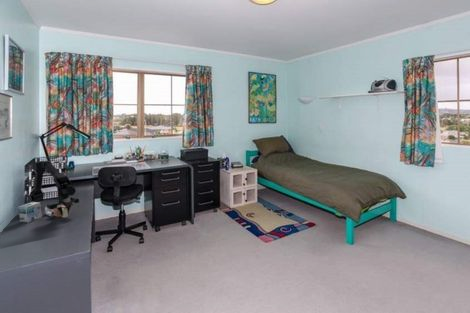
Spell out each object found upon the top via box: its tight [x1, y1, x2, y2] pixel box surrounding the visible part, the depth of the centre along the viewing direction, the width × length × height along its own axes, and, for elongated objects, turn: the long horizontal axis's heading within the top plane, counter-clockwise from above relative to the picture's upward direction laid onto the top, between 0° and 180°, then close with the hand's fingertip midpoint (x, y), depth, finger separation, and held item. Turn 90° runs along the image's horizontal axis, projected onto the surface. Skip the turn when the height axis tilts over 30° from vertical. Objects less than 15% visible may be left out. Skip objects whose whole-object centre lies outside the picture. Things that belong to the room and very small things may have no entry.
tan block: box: [44, 206, 54, 217], centre depth 195 cm, size 7×10×5 cm
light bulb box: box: [18, 201, 43, 223], centre depth 183 cm, size 11×7×11 cm, turn 168°
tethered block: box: [53, 205, 69, 219], centre depth 189 cm, size 11×6×6 cm, turn 56°
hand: (64, 214), depth 187 cm, fingers closed on tethered block, 3 cm apart
